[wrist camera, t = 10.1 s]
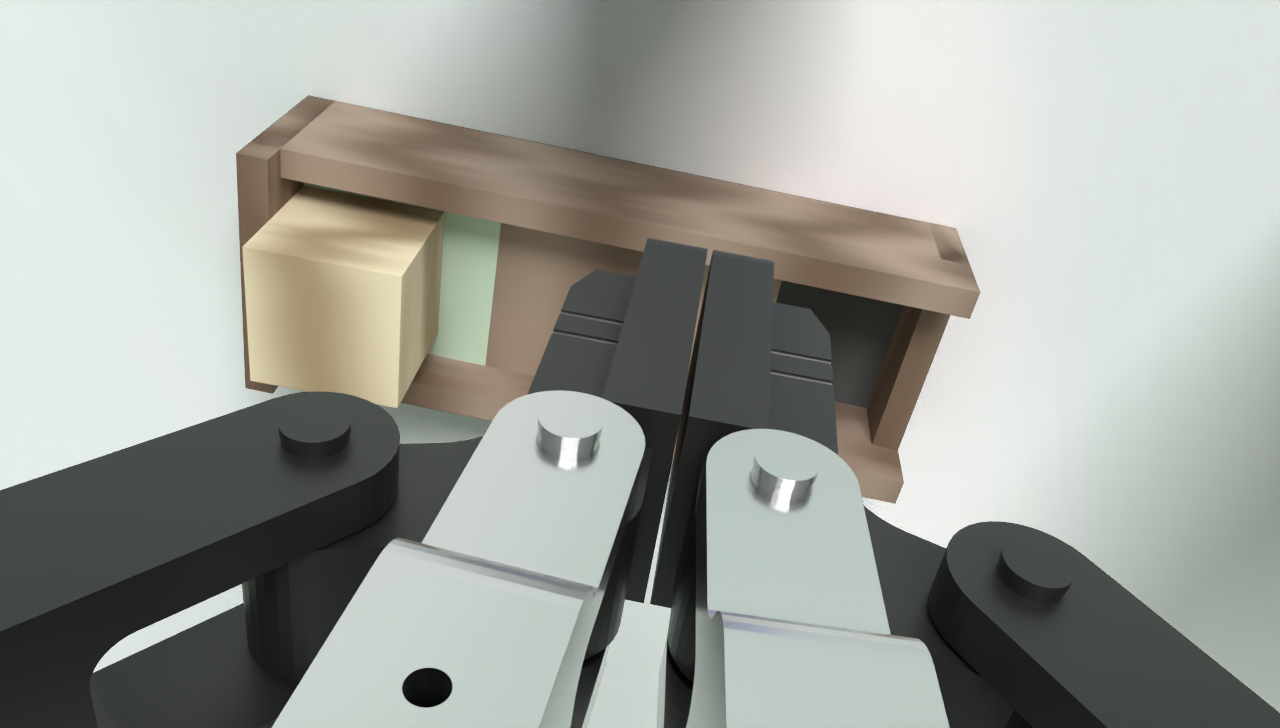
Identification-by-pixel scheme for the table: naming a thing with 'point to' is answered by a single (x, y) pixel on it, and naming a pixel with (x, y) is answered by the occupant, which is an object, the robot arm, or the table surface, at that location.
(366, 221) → the birch block
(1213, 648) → the table surface
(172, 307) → the table surface
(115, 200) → the table surface
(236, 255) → the table surface
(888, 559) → the robot arm
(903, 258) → the brown wooden long box
